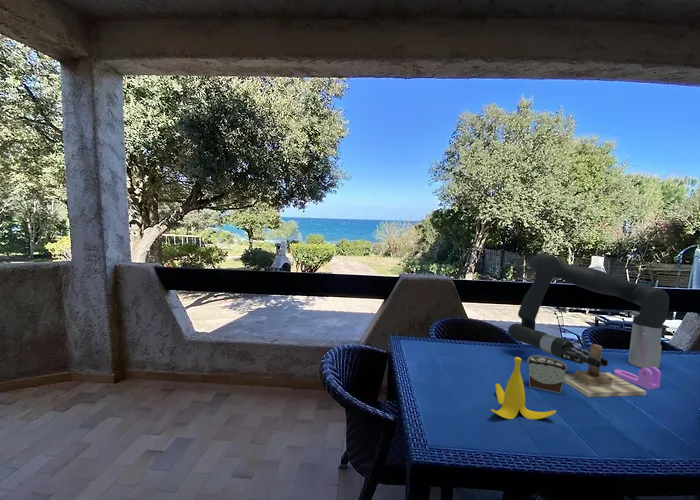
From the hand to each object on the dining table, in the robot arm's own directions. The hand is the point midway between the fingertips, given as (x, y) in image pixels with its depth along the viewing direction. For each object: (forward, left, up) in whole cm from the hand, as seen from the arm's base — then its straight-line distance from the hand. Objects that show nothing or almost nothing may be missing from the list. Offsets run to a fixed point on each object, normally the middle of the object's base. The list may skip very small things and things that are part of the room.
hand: (603, 364), depth 116 cm
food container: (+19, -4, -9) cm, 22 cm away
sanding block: (+1, -3, -8) cm, 8 cm away
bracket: (-20, -6, -10) cm, 23 cm away
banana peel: (+42, +11, -10) cm, 44 cm away
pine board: (-2, -3, -9) cm, 10 cm away
